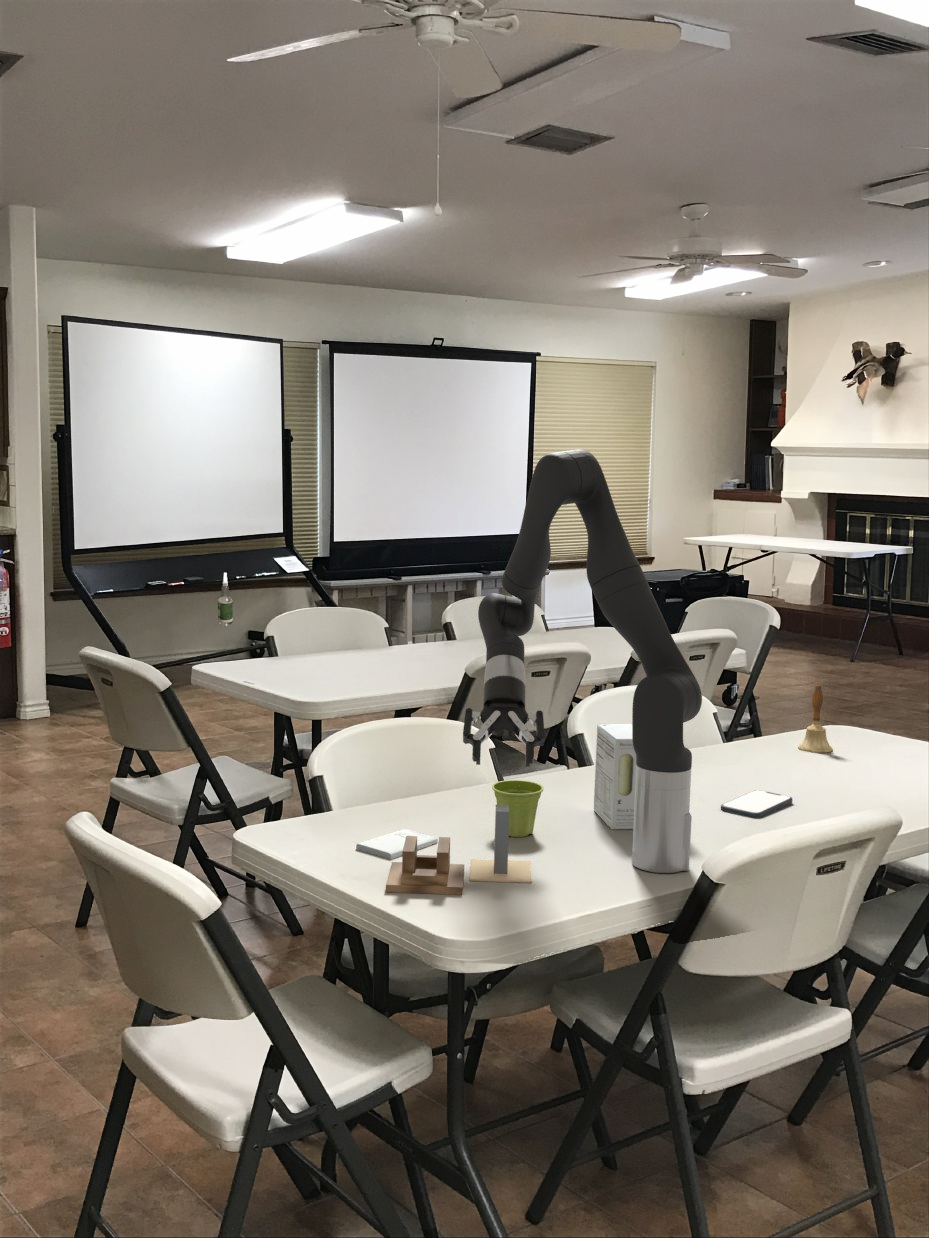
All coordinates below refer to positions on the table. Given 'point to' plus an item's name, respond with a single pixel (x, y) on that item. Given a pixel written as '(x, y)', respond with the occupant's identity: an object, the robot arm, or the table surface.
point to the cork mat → (515, 873)
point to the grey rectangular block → (501, 839)
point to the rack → (425, 871)
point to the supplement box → (615, 775)
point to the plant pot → (519, 804)
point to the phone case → (757, 804)
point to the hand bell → (816, 728)
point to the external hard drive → (394, 843)
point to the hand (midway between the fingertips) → (503, 763)
